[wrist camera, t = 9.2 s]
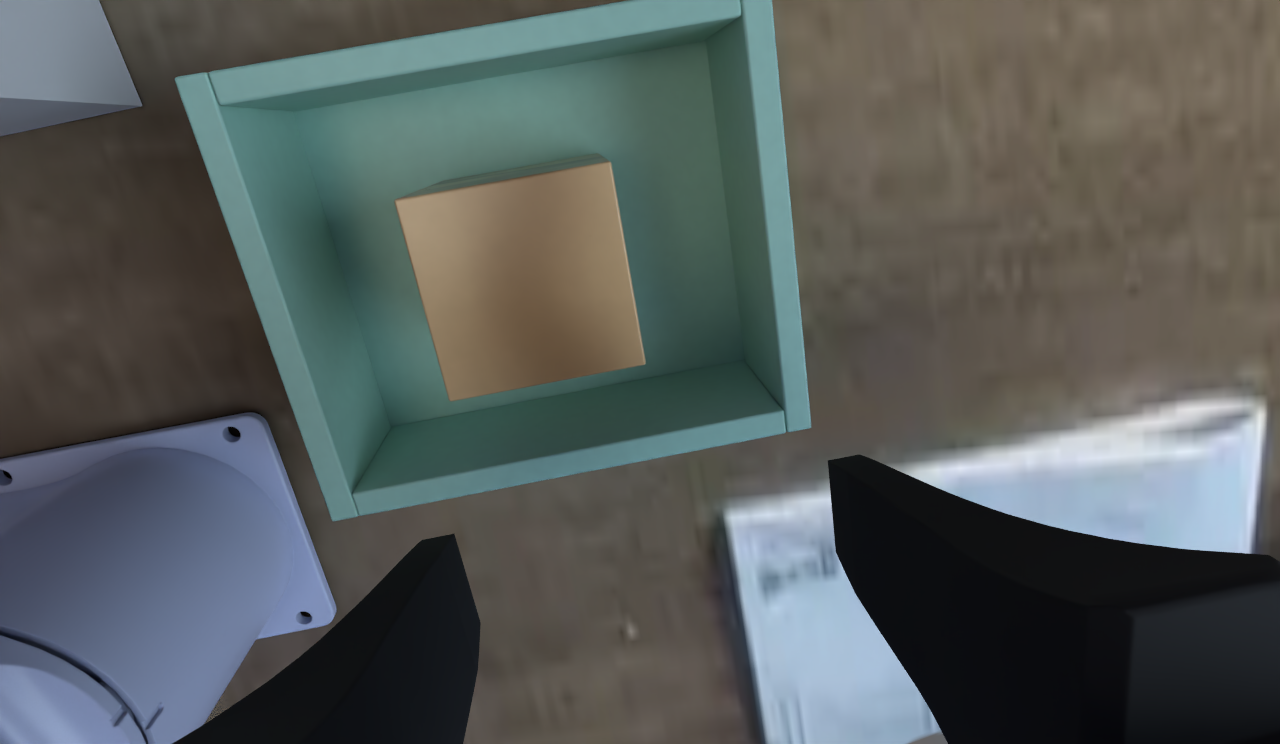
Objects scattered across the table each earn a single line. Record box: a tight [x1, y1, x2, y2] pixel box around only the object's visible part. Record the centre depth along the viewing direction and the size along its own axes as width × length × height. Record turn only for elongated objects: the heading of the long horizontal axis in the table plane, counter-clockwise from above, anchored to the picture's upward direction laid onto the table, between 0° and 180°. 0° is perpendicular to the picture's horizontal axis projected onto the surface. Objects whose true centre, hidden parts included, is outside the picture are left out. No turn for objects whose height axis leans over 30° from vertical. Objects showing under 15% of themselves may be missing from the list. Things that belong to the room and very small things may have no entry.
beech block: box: [394, 153, 646, 401], centre depth 18 cm, size 5×5×6 cm
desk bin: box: [175, 0, 811, 521], centre depth 19 cm, size 13×11×5 cm
